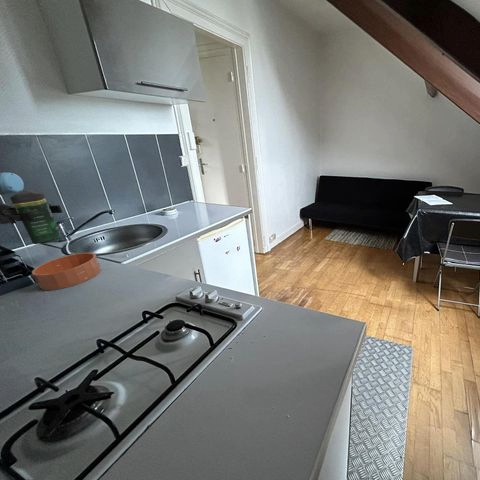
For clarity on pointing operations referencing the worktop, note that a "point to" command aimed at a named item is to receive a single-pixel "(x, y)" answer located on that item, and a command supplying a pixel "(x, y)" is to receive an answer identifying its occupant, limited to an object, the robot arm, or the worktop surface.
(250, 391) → the worktop surface
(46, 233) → the coffee jar
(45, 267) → the bowl
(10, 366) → the worktop surface
